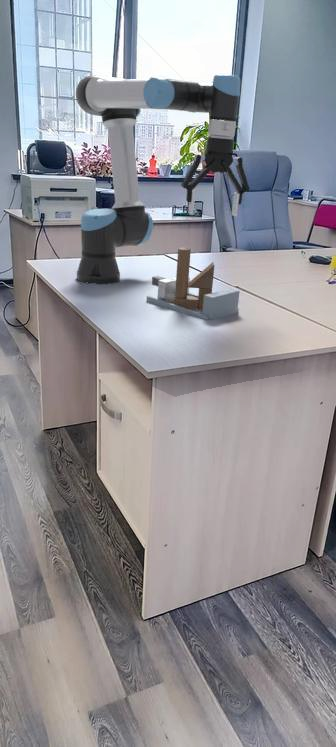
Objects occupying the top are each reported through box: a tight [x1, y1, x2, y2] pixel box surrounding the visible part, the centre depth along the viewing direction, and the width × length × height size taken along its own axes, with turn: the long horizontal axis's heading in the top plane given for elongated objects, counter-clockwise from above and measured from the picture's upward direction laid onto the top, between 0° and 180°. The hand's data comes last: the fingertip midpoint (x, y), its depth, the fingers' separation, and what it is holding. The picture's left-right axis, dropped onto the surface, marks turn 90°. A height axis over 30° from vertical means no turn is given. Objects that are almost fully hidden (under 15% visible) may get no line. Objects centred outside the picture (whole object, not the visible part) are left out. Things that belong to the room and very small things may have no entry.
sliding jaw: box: [151, 275, 191, 304], centre depth 166 cm, size 10×11×7 cm
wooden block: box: [173, 246, 215, 311], centre depth 156 cm, size 4×11×18 cm, turn 91°
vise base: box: [146, 288, 241, 321], centre depth 159 cm, size 25×14×8 cm, turn 45°
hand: (212, 214), depth 161 cm, fingers open, 13 cm apart
